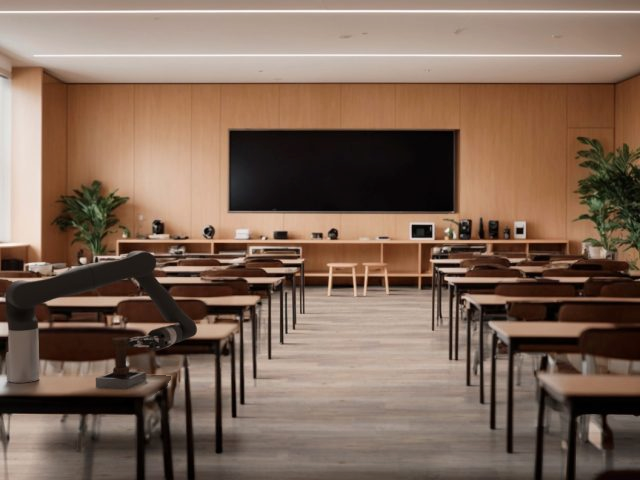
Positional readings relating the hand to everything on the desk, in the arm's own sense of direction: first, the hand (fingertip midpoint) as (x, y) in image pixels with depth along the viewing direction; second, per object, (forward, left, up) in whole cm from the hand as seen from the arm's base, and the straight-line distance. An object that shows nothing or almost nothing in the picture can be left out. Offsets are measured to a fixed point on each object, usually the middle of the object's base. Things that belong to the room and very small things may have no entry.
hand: (138, 345), depth 239 cm
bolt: (0, -11, -11) cm, 15 cm away
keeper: (0, -11, -10) cm, 15 cm away
